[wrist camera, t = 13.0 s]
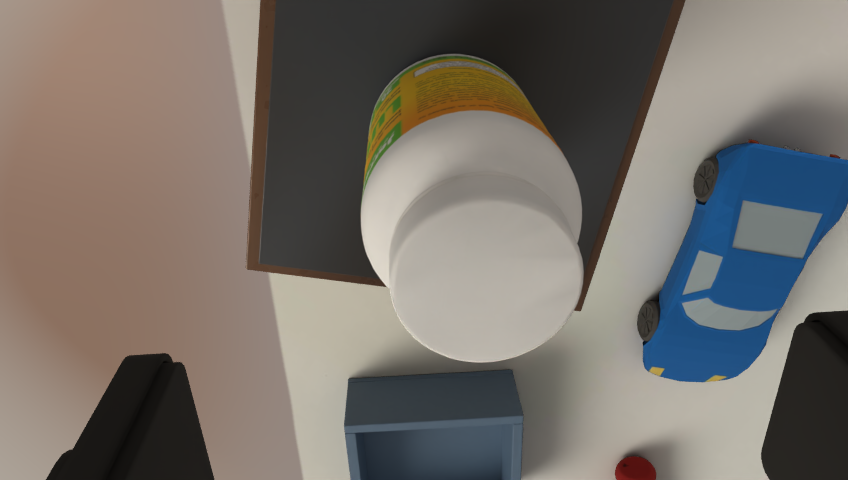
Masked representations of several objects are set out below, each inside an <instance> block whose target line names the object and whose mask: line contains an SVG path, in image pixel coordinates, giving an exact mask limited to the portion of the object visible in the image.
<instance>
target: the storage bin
mask: <svg viewBox="0 0 848 480" xmlns="http://www.w3.org/2000/svg"><path fill="white" fill-rule="evenodd" d="M344 430H345V438H346V446H347V454H348V462H349V470H350V478H351V480H521V463H522V439H523V412H522V408H521V404H520V400H519V396H518V392H517V388H516V384H515V380H514V376H513V371H512V370H497V371H479V372H461V373H444V374H426V375H408V376H390V377H373V378H355V379H348V390H347V400H346V411H345V421H344Z"/></svg>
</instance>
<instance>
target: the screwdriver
mask: <svg viewBox="0 0 848 480" xmlns="http://www.w3.org/2000/svg"><path fill="white" fill-rule="evenodd" d="M615 476H616V479H617V480H656V470H655V468H654V467H653V465H652V464H651V463H650V462H649V461H648V460H646V459H644V458H642V457H637V456H631V457H626V458H624V459H623V460H621V461H620V462H619V463H618V465H617V467H616V470H615Z"/></svg>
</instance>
